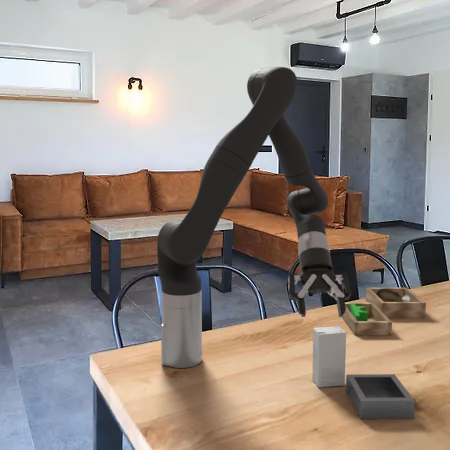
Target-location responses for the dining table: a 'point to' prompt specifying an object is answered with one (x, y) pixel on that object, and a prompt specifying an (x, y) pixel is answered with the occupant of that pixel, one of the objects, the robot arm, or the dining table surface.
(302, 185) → the robot arm
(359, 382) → the keeper tray
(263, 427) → the dining table surface
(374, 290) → the figurine corral
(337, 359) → the skincare box
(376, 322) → the tray
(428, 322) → the dining table surface
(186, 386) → the dining table surface
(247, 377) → the dining table surface
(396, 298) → the eagle figurine
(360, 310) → the green notched block
